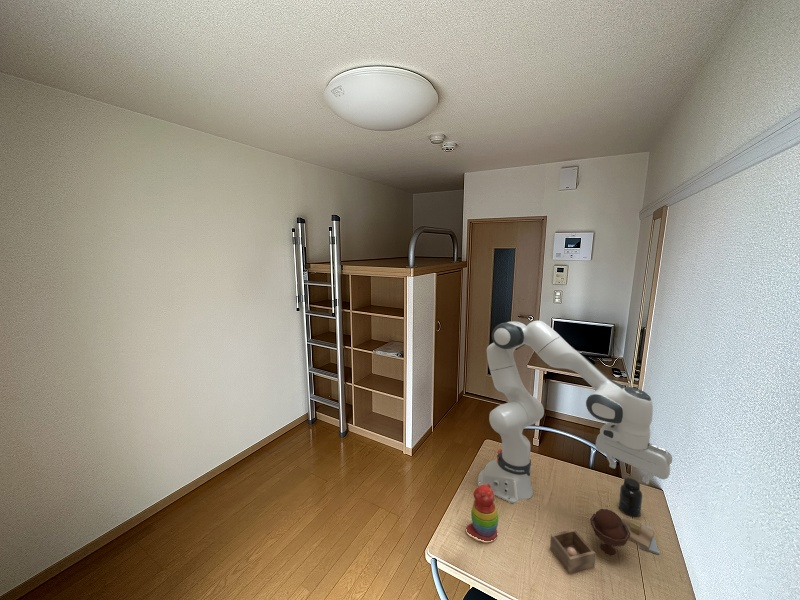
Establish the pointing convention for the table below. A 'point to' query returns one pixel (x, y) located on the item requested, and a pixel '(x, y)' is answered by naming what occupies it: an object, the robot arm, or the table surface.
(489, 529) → the stacking bear
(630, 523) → the lid
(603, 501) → the table surface
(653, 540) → the felt pad
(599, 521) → the ice cream bowl
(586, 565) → the walnut box
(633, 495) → the supplement bottle
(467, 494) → the table surface
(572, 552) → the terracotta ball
